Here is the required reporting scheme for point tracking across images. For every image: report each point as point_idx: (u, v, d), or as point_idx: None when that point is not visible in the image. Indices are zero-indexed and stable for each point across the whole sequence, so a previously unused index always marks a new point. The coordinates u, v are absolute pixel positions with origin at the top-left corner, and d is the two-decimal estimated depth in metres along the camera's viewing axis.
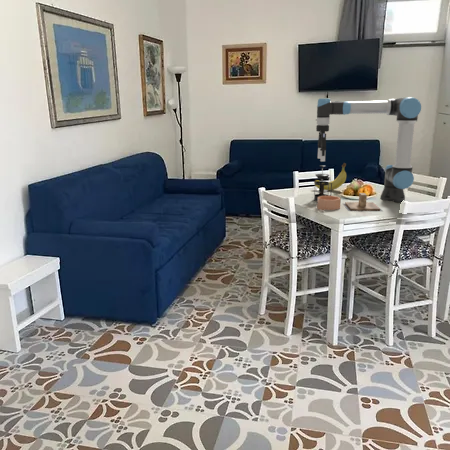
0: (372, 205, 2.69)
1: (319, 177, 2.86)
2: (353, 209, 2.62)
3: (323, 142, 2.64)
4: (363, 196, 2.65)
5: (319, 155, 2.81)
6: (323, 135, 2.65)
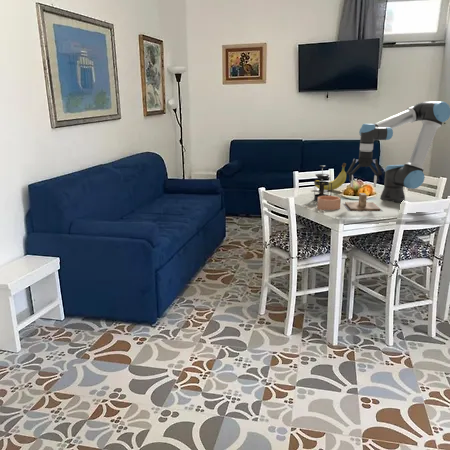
0: (372, 205, 2.69)
1: (319, 177, 2.86)
2: (353, 209, 2.62)
3: (350, 167, 2.64)
4: (363, 196, 2.65)
5: (374, 183, 2.66)
6: (353, 160, 2.63)
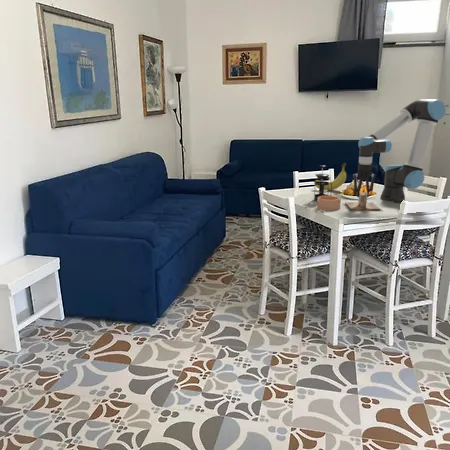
0: (372, 205, 2.69)
1: (319, 177, 2.86)
2: (353, 209, 2.62)
3: (354, 183, 2.67)
4: (363, 196, 2.65)
5: None
6: (353, 176, 2.65)
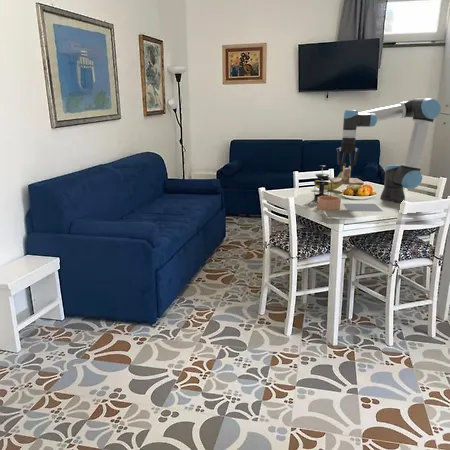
0: (356, 180, 2.65)
1: (319, 177, 2.86)
2: (336, 183, 2.58)
3: None
4: (346, 170, 2.61)
5: None
6: (337, 150, 2.62)
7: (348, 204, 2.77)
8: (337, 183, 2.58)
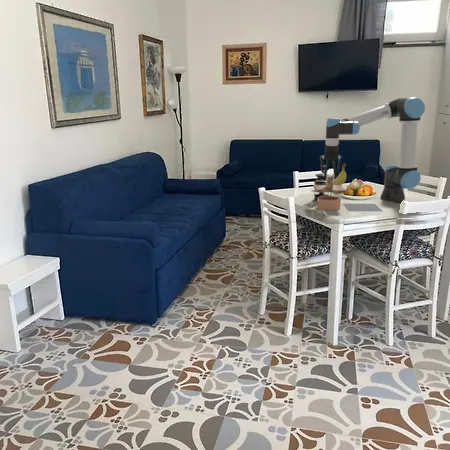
0: (339, 187, 2.67)
1: (319, 177, 2.86)
2: (319, 191, 2.61)
3: (321, 165, 2.65)
4: (330, 178, 2.64)
5: None
6: (320, 158, 2.64)
7: (348, 204, 2.77)
8: (320, 191, 2.60)
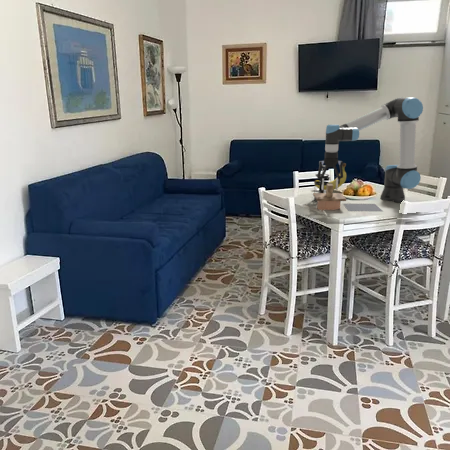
0: (339, 196, 2.69)
1: None
2: (319, 199, 2.62)
3: (318, 170, 2.66)
4: (330, 186, 2.65)
5: (336, 186, 2.68)
6: (319, 163, 2.65)
7: (348, 204, 2.77)
8: (320, 199, 2.62)
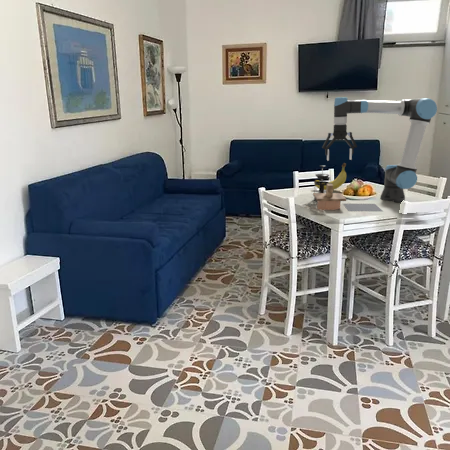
0: (339, 196, 2.69)
1: (319, 177, 2.86)
2: (319, 199, 2.62)
3: (325, 141, 2.68)
4: (330, 186, 2.65)
5: (349, 156, 2.70)
6: (328, 134, 2.67)
7: (348, 204, 2.77)
8: (320, 199, 2.62)
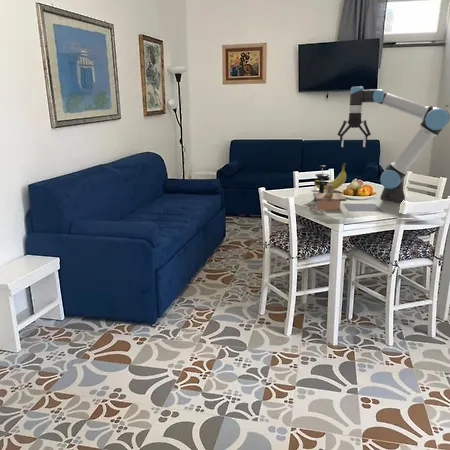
0: (339, 196, 2.69)
1: (319, 177, 2.86)
2: (319, 199, 2.62)
3: (340, 128, 2.81)
4: (330, 186, 2.65)
5: (363, 143, 2.82)
6: (343, 122, 2.80)
7: (348, 204, 2.77)
8: (320, 199, 2.62)
